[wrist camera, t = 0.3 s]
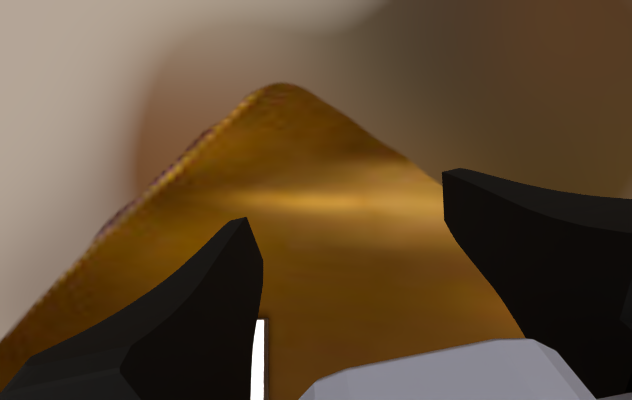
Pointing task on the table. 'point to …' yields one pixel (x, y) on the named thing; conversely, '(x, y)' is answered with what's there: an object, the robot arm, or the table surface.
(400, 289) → the table surface
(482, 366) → the robot arm
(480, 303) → the table surface
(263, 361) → the slotted metal bracket
